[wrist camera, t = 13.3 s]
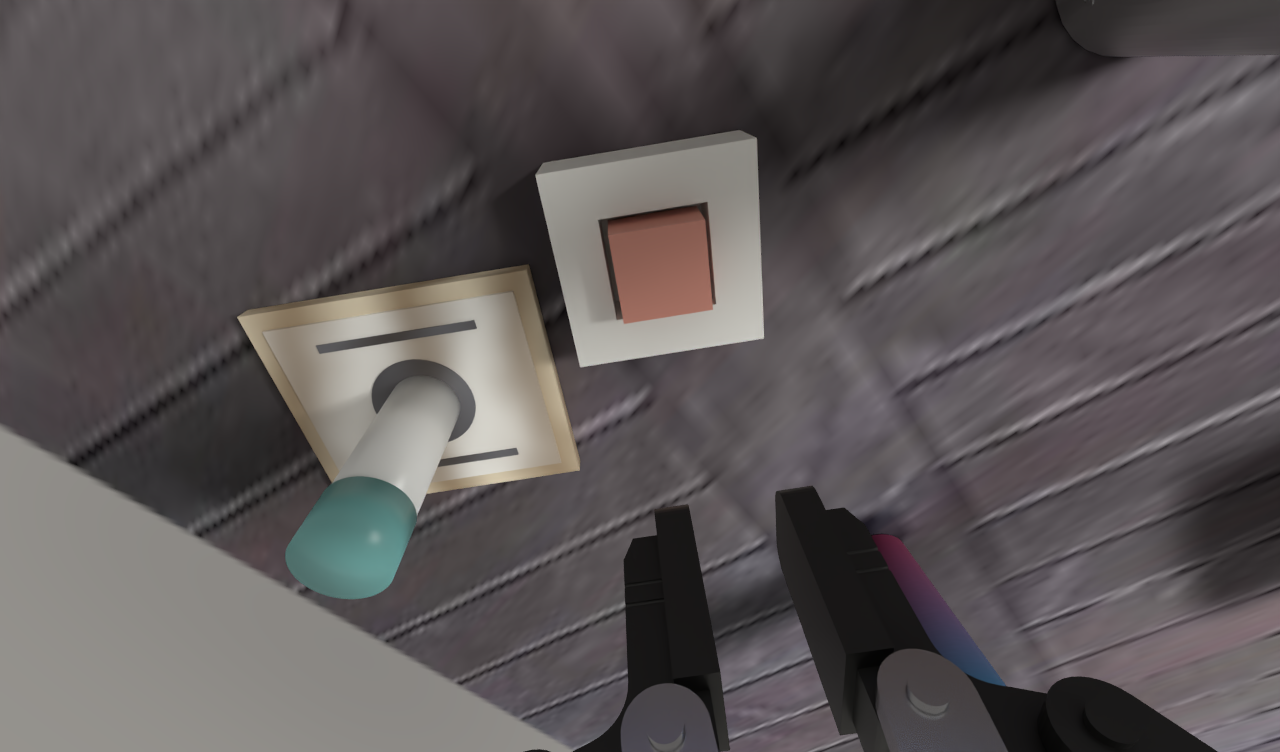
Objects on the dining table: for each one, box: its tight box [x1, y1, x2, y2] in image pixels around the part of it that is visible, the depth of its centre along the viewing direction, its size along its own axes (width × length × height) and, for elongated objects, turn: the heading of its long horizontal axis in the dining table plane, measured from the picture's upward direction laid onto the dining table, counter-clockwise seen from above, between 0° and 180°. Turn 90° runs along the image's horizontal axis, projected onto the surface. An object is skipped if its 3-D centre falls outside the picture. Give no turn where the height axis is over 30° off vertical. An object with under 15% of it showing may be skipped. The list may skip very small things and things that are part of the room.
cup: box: [872, 534, 1006, 686], centre depth 37 cm, size 7×7×15 cm
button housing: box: [535, 130, 764, 367], centre depth 28 cm, size 10×10×4 cm
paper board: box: [237, 264, 580, 494], centre depth 33 cm, size 16×14×1 cm
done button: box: [608, 206, 713, 324], centre depth 26 cm, size 4×4×3 cm
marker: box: [285, 376, 460, 599], centre depth 27 cm, size 4×4×12 cm
